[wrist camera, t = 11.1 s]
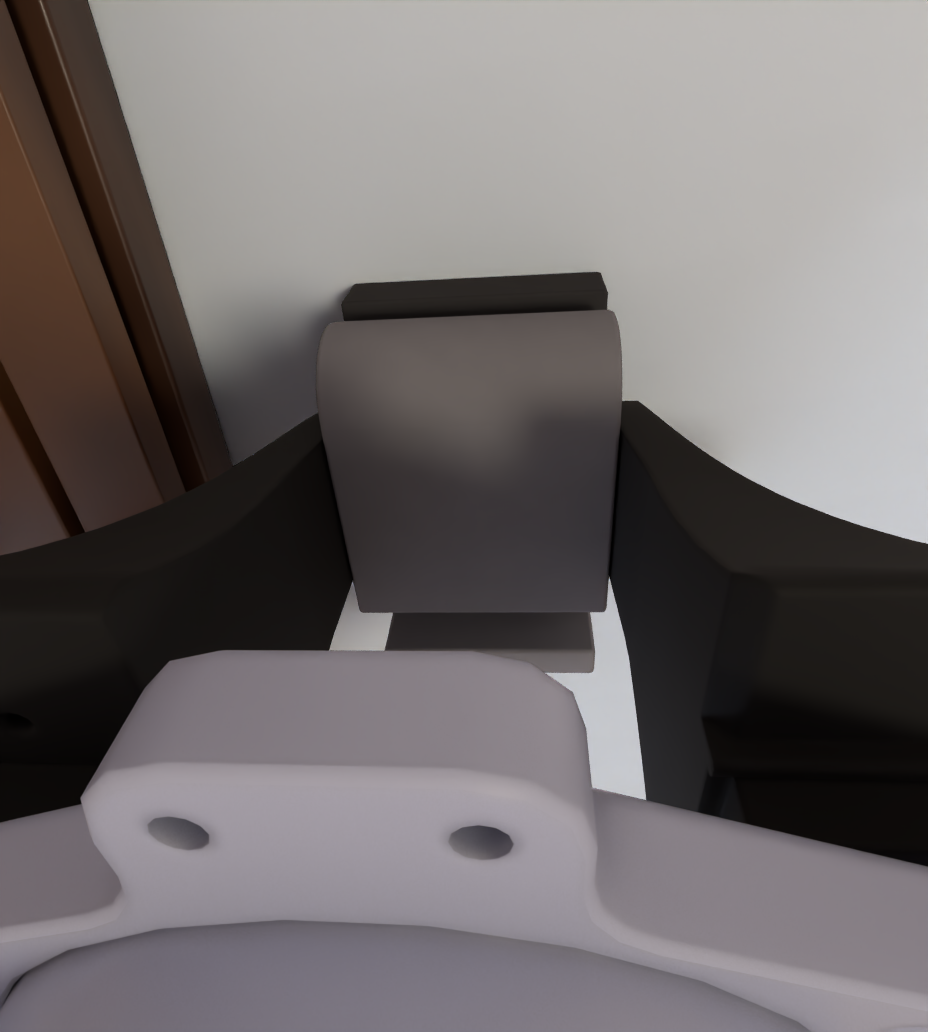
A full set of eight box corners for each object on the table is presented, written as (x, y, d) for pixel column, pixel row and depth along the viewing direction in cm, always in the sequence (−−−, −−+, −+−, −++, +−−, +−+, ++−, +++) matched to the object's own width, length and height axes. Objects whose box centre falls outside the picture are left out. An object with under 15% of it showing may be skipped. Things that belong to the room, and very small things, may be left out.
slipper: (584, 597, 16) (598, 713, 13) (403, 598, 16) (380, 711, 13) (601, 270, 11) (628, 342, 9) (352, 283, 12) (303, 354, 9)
